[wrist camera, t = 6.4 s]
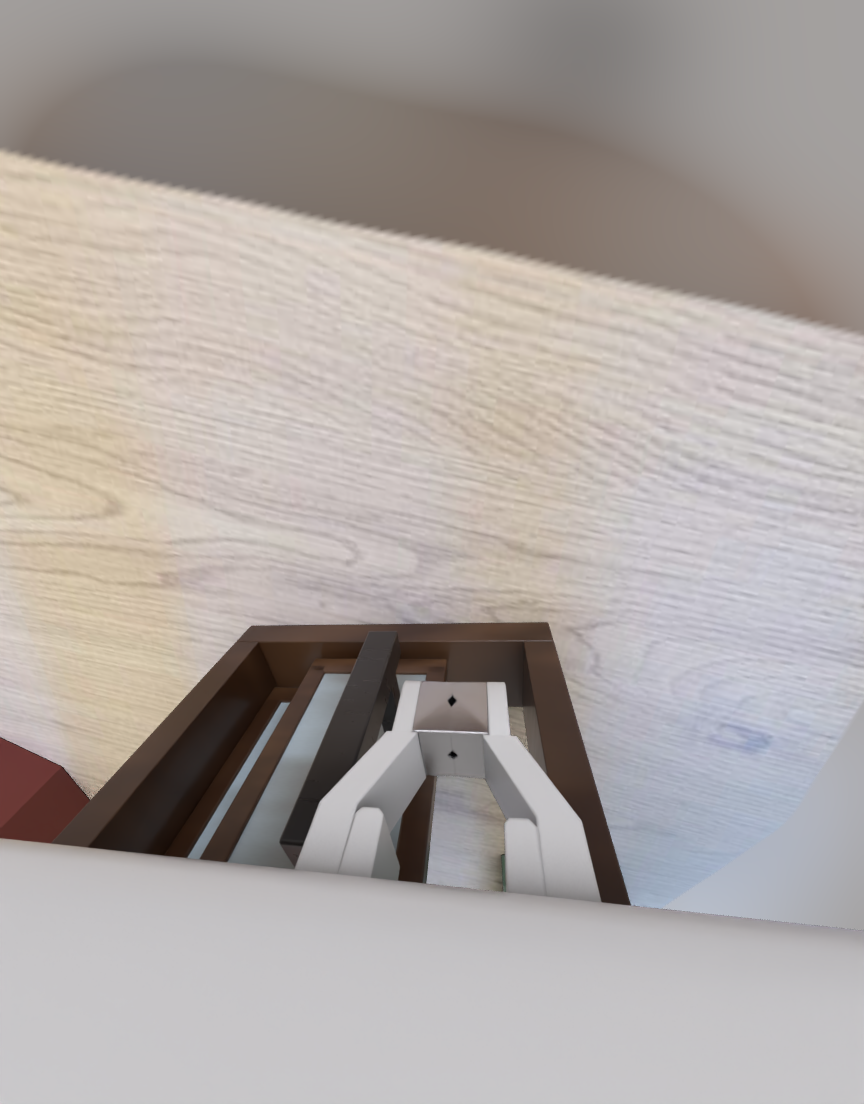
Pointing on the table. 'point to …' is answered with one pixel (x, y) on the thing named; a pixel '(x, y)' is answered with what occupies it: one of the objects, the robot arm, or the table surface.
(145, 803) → the window frame
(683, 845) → the table surface
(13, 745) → the bucket
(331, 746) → the sliding window sash
